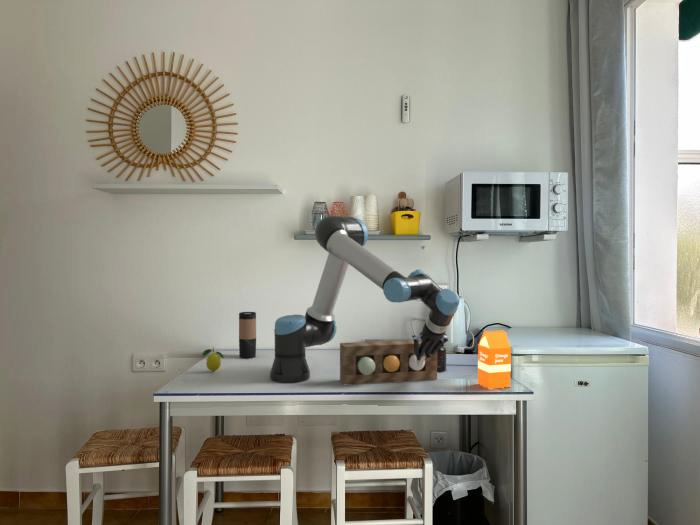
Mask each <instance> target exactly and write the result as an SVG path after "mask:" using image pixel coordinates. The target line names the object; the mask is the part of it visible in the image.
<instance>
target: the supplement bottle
mask: <svg viewBox="0 0 700 525" xmlns="http://www.w3.org/2000/svg"><path fill="white" fill-rule="evenodd" d="M446 371H447V349H446V347H445V343H444V344H443V345H442V346H441V347H440V349H439V350H438V351H437V373H442V372H446Z"/></svg>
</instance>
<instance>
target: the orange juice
mask: <svg viewBox="0 0 700 525" xmlns="http://www.w3.org/2000/svg"><path fill="white" fill-rule="evenodd" d="M510 344H511V343H510V341H509V339H508V336H507V333H506V330H488V331H487V330H486V331H483V333H482V335H481V338H480V340H479V342H478V344H477V346H478V348H477V351H478V352H477V385H479V384H480V385H479V386H481V385H482V386H481V387H483V386H484V387H483V388H485V387H487V388H489V389H490V388H502V389H505V388H504V387H510V388H511V370H512V369H511V368H512V365H511V364H512V363H511V362H512V361H511V359H512V357H511V356H512V355H511V354H512V347H511V345H510ZM487 388H486V389H487ZM489 389H488V390H489ZM490 390H491V389H490Z"/></svg>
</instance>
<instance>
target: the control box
mask: <svg viewBox="0 0 700 525" xmlns="http://www.w3.org/2000/svg"><path fill="white" fill-rule="evenodd" d="M421 342H422V340H421V339H420V341H419V347H420V344H421ZM339 345H340V346H339V381H340V380H341V381H340V382H341V384H342V385H343V384H352V385H365V384H366V385H367V384H369V385H370V384H385V383H388V384H389V383H401V382H402V383H403V382H421V381H437V380H438V372H437V352H436V353H435V354H434V355H432V354H430V358H427V359H426V360H425V365H424V367H423V368H422V369H421V370H418V371H416V370H413V369H412V368H411V367H409V365H408V357H409V356H410V355H411V354H412V353H414V341H413V339H410V340H409V339H408V340H406V339H405V340H385V341H384V340H383V341H359V342H357V341H355V342H340V343H339ZM433 350H434V349H433ZM387 354H392V355H394V356H396V357H397V358H398V359H399V362H400V365H399V368H398V369H397V370H396V371H394V372H389V371H387V370H386V369H385V368H384V367H383V366H382V359H383V357H384V356H385V355H387ZM362 357H369V358H371V359H372V360H373V361H374V363H375V370H374V372H373V373H372V374H370V375H364V374H362V373H361V372H360V371H359V369H358V367H357V363H358V361H359V360H360V359H361V358H362Z"/></svg>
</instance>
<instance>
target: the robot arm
mask: <svg viewBox="0 0 700 525" xmlns="http://www.w3.org/2000/svg"><path fill="white" fill-rule="evenodd" d="M366 226H367V225H366V224H365V222H364V221H363V220H361V219H360V218H359V217H353V216H341V215H339V216H337V215H328V216H325V217H323V218H321V219H320V220H319V221H318V222H317V224H316V226H315V228H314V236H315V240H316V242H317V243H318V244H319V246H320V247H321V248H322V249H324V250H325V251H326V252H328V254H327V257H326V260H325V264H324V268H323V270H322V273H321V276H320V280H319V283H318V287H317V290H316V292H315V295H314V299H313V302H312V305H311V306H309V307H307V309H306V312H305V314H304V315H303V314H291V315H290V314H289V315H288V314H287V315H284V316H281V317H278V318H277V319H276V320H275V322H274V332H273V333H274V358H273V362H272V365H271V369H270V372H269V379H270V380H271V381H274V382H276V383H284V384H285V383H290V384H291V383H300V382H305V381H308V380H309V379H310V377H311V371H310V370H311V369H310V368H309V365H308V362H307V359H306V348H310V347H315V346H322V345H324V344H327V343H330V341H332V340H333V339H334V338H335V336H336V333H337V322H336V320H335V319H336V316H335V315H334V309H335V306H336V304H337V300H338V297H339V294H340V291H341V288H342V285H343V282H344V280H345V278H346V273H347V271H348V268H349V265H350V266H351V267H352V268H354V269H355V270H356V271H357V272H359V273H360V274H362V275H363V276H364V277H365V278H367V279H368V280H369V281H371V282H372V283H373V284H375V285H376V286H377V287H379V288H380V289H381V290H382V291H383V295H384V297H385V299H387V301H389V302H390V303H400V304H401V303H405V302H409V301H415V300H419V301H421V302H422V303H423V304H424V305H425V306H426V307H427V308H428V309H429V312H428V315H427V317H426V320H425V322H424V324H423V327H422V331H421V332H420V333H419V335H417V336H416V335H415V334H413V335H411V336H412V340H413V341H414V353H415V356H416V358H417V359H416V362H417V366H418V367H421V366H422V364H423V362H424V360H426V359H427V358H430V354H432V355H434V354H435V353H436V352H437V351H438V350H439V349H440V347H441V346H442V345H443V344H444V345H445V343H447V342H448V341H449V339H448V336H447V333H446V332H447V330H448V328H449V326H450V324H451V322H452V319H453V317H455V315H456V312H457V311H458V306H459V305H460V296H459V294H458V293H457V292H456V291H454V290H451V289H450V288H441V287H440V285H438V284H437V283H436V281H434V280H433V278H432V277H431V276H430V275H429V274H428V273H426V272H425V271H424V270H422V269H415V270H413V271H412V272H410V274H408V276H407V277H406V276H405V275H403V274H401V273H400V272H398V271H397V270H396V269H394V268H393V267H391V266H390V265H389V264H387V263H386V262H385V261H383V260H382V259H381V258H379V257H378V256H377V255H375V254H373V253H372V252H371V251H370V250H368V249H366V247H364V246H365V245H366V243H367V242H368V239H369V238H368V237H369V231H368V228H367V227H366ZM420 340H422V342H421V344H420V347H419V341H420ZM433 349H434V350H433Z"/></svg>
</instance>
